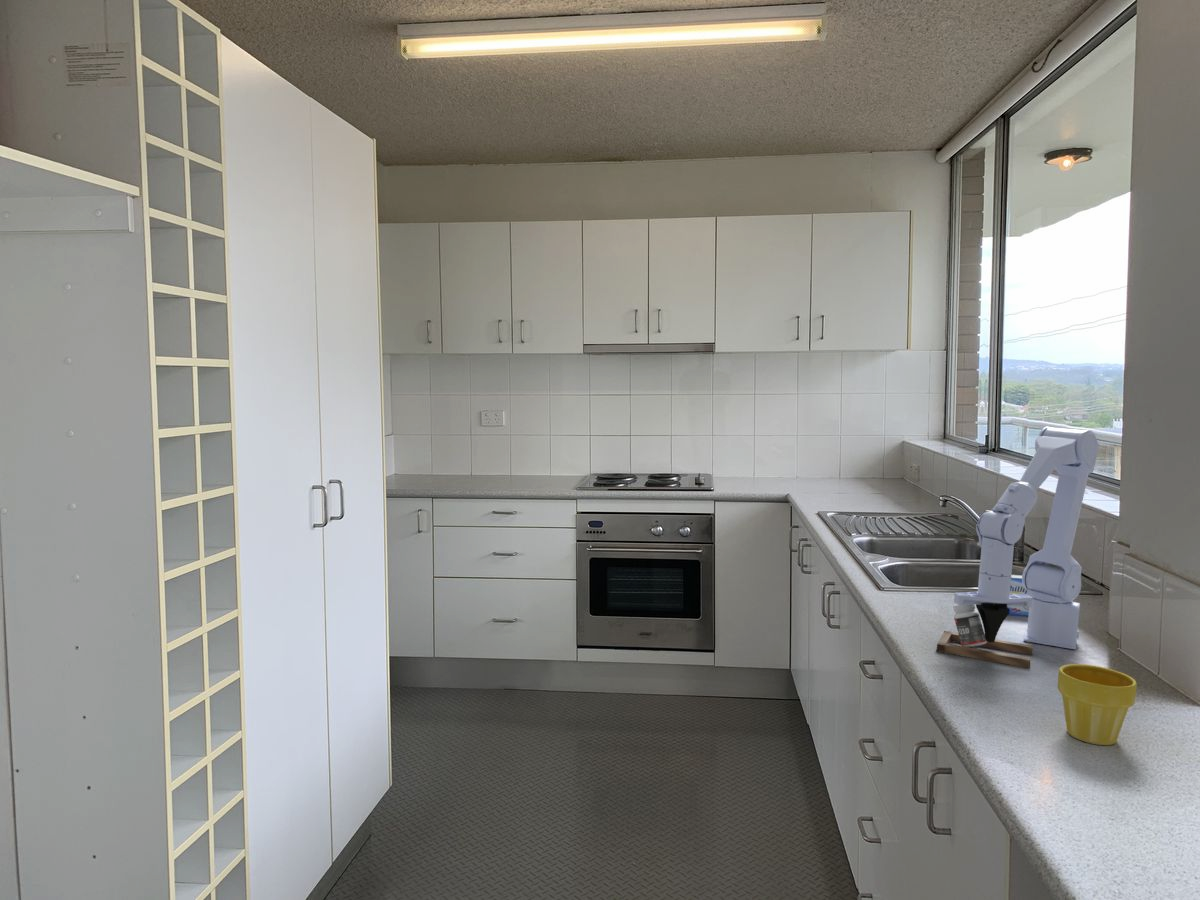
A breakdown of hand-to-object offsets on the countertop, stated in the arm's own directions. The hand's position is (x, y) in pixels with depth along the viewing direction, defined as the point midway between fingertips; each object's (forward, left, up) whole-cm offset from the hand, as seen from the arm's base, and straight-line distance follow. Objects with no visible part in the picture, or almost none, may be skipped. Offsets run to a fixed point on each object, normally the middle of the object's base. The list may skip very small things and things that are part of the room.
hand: (989, 640), depth 173 cm
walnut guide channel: (+1, 0, -2) cm, 3 cm away
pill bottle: (+3, -1, -2) cm, 3 cm away
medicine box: (-3, -35, -3) cm, 35 cm away
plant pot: (-18, +34, -3) cm, 38 cm away
